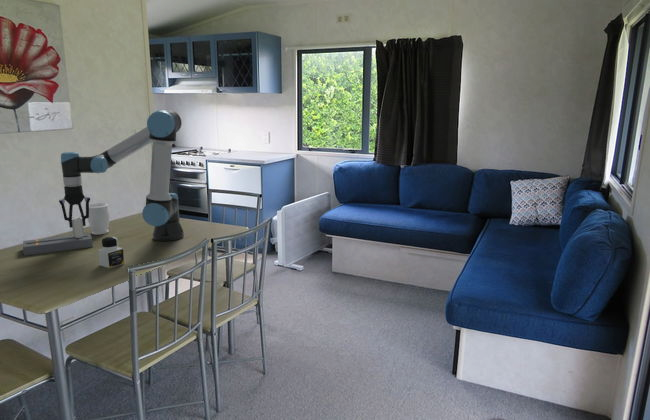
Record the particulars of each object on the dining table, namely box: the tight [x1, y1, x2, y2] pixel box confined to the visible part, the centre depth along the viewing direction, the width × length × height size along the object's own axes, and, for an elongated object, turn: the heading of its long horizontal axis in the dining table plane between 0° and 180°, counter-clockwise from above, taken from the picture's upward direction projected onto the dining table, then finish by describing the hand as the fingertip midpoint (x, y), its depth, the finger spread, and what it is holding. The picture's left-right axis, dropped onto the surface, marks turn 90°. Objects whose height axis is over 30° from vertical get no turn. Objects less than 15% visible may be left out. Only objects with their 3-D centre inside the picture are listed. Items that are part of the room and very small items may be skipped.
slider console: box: [22, 232, 94, 256], centre depth 223 cm, size 28×11×4 cm, turn 121°
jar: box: [87, 202, 111, 236], centre depth 247 cm, size 11×10×15 cm
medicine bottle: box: [97, 236, 125, 269], centre depth 200 cm, size 7×7×12 cm
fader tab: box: [72, 215, 84, 238], centre depth 226 cm, size 3×6×11 cm, turn 31°
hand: (78, 233), depth 226 cm, fingers closed on fader tab, 3 cm apart
